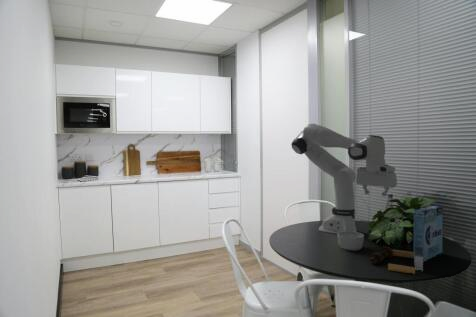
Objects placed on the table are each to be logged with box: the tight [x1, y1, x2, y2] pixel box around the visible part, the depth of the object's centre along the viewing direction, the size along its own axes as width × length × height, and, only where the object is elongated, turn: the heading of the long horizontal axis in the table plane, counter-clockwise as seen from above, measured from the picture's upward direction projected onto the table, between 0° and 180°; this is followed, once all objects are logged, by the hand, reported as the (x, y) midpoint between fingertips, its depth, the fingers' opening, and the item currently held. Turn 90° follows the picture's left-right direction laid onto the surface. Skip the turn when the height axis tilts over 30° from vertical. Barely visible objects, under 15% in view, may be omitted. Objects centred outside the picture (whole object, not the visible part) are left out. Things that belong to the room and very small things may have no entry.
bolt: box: [369, 246, 394, 265], centre depth 149 cm, size 6×5×15 cm
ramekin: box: [336, 231, 365, 251], centre depth 169 cm, size 13×13×7 cm
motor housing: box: [387, 246, 424, 275], centre depth 144 cm, size 13×22×7 cm, turn 153°
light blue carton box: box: [412, 205, 444, 263], centre depth 154 cm, size 20×5×23 cm, turn 126°
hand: (375, 195), depth 163 cm, fingers open, 8 cm apart
